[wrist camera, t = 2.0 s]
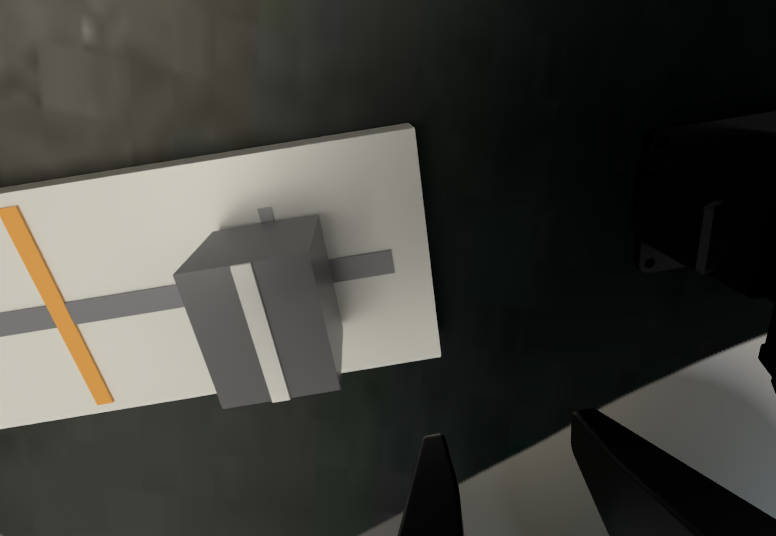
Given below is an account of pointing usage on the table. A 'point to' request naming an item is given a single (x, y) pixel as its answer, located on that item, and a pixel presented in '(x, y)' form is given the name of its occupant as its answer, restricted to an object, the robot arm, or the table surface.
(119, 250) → the slider track board
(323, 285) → the fader
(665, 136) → the robot arm
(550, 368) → the table surface
